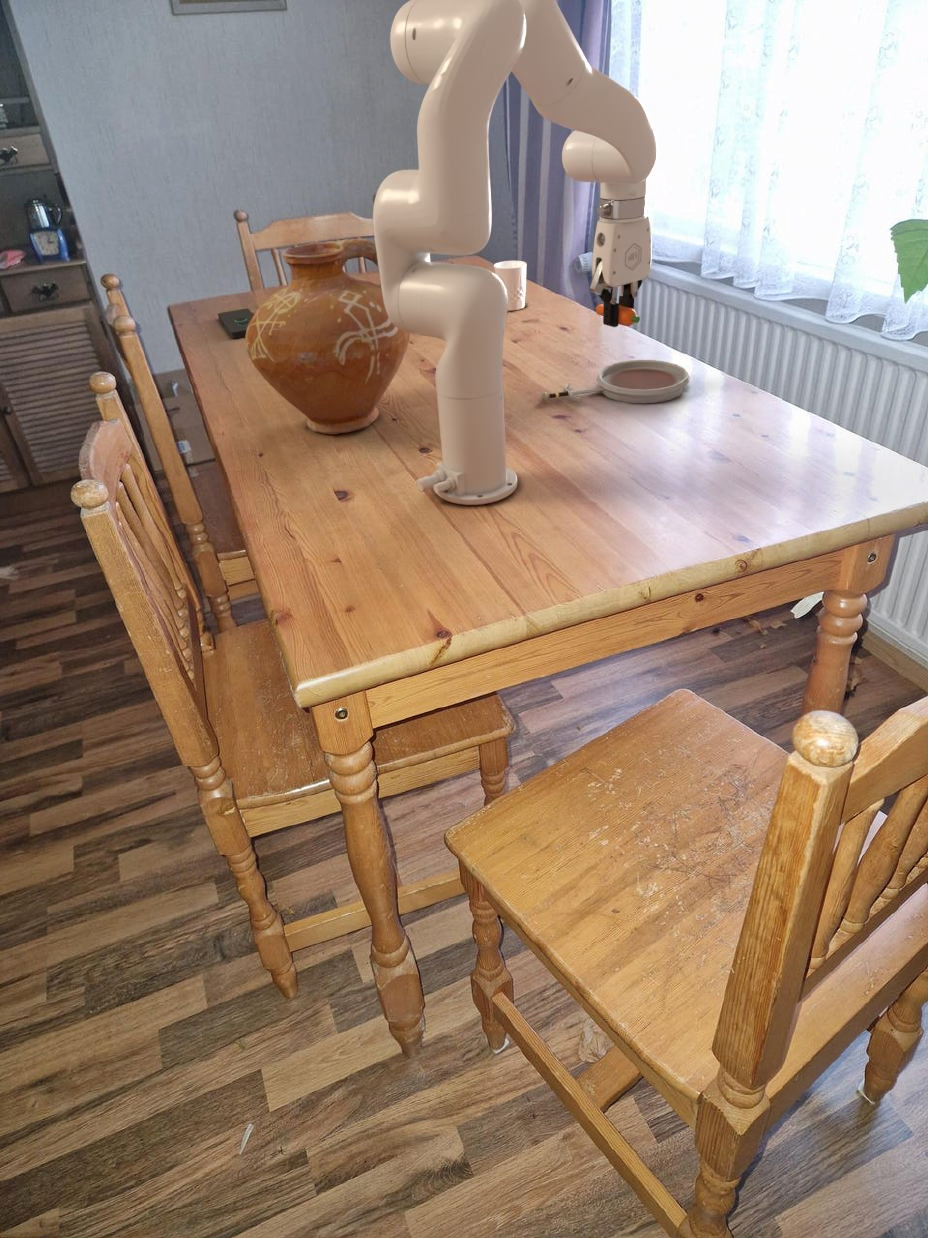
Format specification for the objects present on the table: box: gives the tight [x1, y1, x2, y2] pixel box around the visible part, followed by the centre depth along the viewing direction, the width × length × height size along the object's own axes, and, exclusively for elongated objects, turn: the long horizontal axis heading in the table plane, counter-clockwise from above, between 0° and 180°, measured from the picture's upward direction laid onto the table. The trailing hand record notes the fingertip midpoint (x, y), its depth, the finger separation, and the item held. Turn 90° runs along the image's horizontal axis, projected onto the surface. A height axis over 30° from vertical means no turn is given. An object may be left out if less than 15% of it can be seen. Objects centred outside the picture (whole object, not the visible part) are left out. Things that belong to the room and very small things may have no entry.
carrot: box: [595, 304, 641, 327], centre depth 143 cm, size 10×3×3 cm, turn 36°
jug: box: [244, 238, 411, 435], centre depth 139 cm, size 28×28×30 cm
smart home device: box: [217, 307, 254, 340], centre depth 203 cm, size 8×2×20 cm
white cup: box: [493, 260, 527, 312], centre depth 198 cm, size 8×8×10 cm
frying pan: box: [541, 359, 691, 404], centre depth 150 cm, size 17×3×28 cm
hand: (618, 321), depth 143 cm, fingers closed on carrot, 3 cm apart
